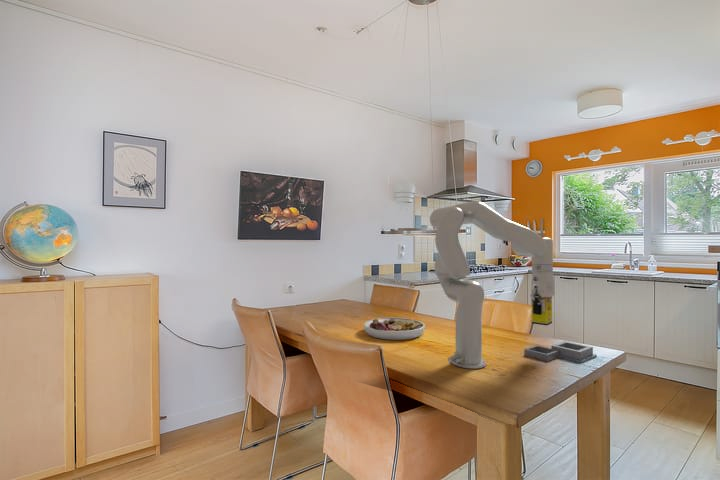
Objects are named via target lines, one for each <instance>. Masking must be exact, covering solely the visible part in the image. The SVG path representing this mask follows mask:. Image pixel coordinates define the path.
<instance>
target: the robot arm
mask: <svg viewBox="0 0 720 480" xmlns="http://www.w3.org/2000/svg"><path fill="white" fill-rule="evenodd" d="M429 222H430V225H431V226H432V228H433V229H435V230H436V232H435V235H434V236H435V238H434V242H435V247H436V250H437V253H438V255H439V256H437V257H436V259H435V262H434V271H435V272H434V273H435V274H436V276H437V279H438V280H439V283H440V285H441V288H442V289H443V292H444V294H445V295H446V297H447V298H448V299H449V300H451V301H453V302H456V303H457V306H456V310H455V316H454V317H455V321H454V322H455V351H454V352H453V355H451V356H449V357H447V361H448V363H452V365H454V366H457V367H459V368H463V369H469V370H471V369H472V370H473V369H481V368H485V367H486V366H487V361H486V360H485V359H484V358H483V357H482V356H483V353H482V349H483V348H482V344H483V341H482V340H483V339H482V338H483V337H482V335H483V334H482V332H483V329H482V328H483V327H482V323H483V322H482V319H483V317H482V315H483V313H482V312H483V305H484V300H485V292H484V291H485V290H484V287H482V285H481V283H479V282H477V281H475V280H471V279H467V277H468V276H469V275H470V271H471V269H470V268H471V267H470V264H469V261H468V259H467V257H466V255H465V252H464V251H463V248H462V246H461V243H460V240H459V235H460V234H459V233H460V230H461V228H462V226H463V225H468V224H472V225H474V226H476V227H477V228H479V229H480V230H482V231H484V232H485V233H486V234H487V235H489V236H490V237H492V238H495V239H497V240H500V241H506V242H509V243H510V242H511V244H510V245H511V246H510V247H511V250H512V252H513V253H514V254H515V255H517V256H519V257H531V266H532V267H531V272H532V273H531V274H532V276H531V282H530V283H531V285H530V295H529V297H530V298H531V299H532V303H533V314H538V315H541V314H542V305H541V299H542V298H547V297H552V298H553V297H554V296H555V279H554V278H555V277H554V273H553V271H554V268H553V267H554V265H553V264H554V240H553V239H552V238H551V237H542V236H541V235H539V234H538V233H537V232H535V231H533V230H532V229H530V228H529V227H526V226H524V225H521V224H519V223H517V222H515V221H512V220H510V219H507V218H506V217H504V216H503V215H501V214H500V213H498V212H497V211H496V210H494V209H493V208H492V207H490V206H489V205H487V204H486V203H484V202H483V201H481V200H473V201H468V202H467V201H466V202H461V203H458V204H454V205H451V206H445V207H440V208H436V209H435V210H433V211H432V212H431V214H430V216H429ZM537 298H539V300H538V299H537Z"/></svg>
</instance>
